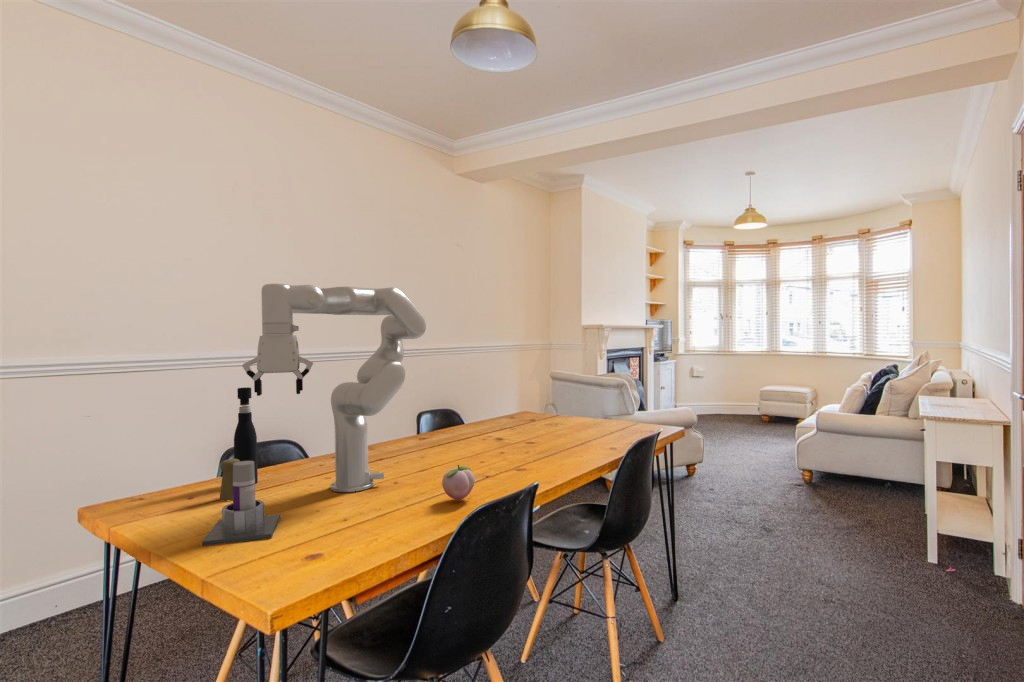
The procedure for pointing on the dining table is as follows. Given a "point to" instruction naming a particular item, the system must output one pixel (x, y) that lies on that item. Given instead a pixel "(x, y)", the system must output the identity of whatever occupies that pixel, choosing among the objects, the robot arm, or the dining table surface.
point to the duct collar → (242, 525)
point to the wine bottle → (245, 432)
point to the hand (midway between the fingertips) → (279, 394)
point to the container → (243, 485)
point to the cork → (227, 479)
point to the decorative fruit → (458, 482)
